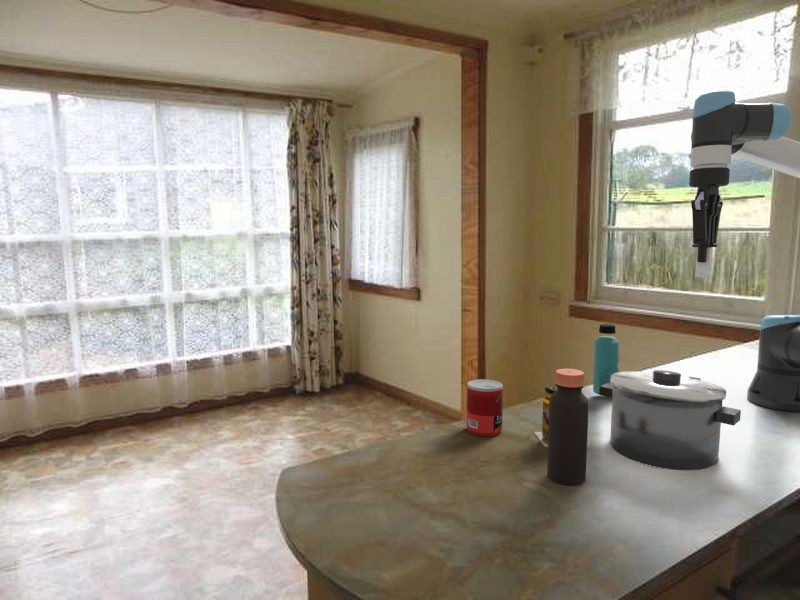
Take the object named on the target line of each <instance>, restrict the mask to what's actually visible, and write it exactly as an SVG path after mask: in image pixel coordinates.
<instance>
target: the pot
mask: <svg viewBox="0 0 800 600" xmlns="http://www.w3.org/2000/svg"><path fill="white" fill-rule="evenodd" d="M598 396H601V397H602V396H603V397H605V398H606V397H607V398H609V399H611V415H610V416H611V418H610V436H609V437H610V439H609V440H610V441H609V442H610V443H609V444H610V446H611V448H612V449H613V451H615V452H616V453H618V454H620V456H623V457H625V458H627V459H628V460H631V461H634V462H636V463H639V462H640V464H642V463H643V464H642V465H646V464H647V465H646V466H649V465H651V467H654V466H655V467H654V468H659V467H660V468H659V469H664V468H665V469H666V470H674V471H675V470H676V471H697V470H703V469H707V468H711V467H713V466H714V465H716V464H717V463H719V462H718V461H719V453H720V440H721V438H720V437H721V427H722V424H725V425H731V426H733V427H734V426H735V425H736V424H737V423H739V422H740V421H741V415H742V414H741V413H742V410H741V409H737V408H734V407H729V406H728V407H727V406H723V400H721V401H716V402H689V401H678V400H669V399H662V398H656V397H651V396H646V395H641V394H637V393H633V392H629V391H626V390H623V389H620V388H618V387H616V386H614V385H613V384H611V383H606V384H604V385H601V386H600V389H599V394H598Z"/></svg>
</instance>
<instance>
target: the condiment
mask: <svg viewBox="0 0 800 600" xmlns="http://www.w3.org/2000/svg"><path fill="white" fill-rule="evenodd" d="M555 384H556V383H555ZM555 384H548V385H546V386H545V389H544V391H545V392H544V396H545V397H543V399H542V400H543V401H542V419H541V420H542V423H541V427H542V429H541V431H533V433H534V434H535V436H536V437H537V439H538V440H539V441H540V443H541V444H542V445H543V446H544V447H545V448H548V428H549V399H550V396H551V395H552V394H553V393H554V392H555V391H556V390H557V387H556V386H555Z"/></svg>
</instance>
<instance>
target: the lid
mask: <svg viewBox="0 0 800 600" xmlns="http://www.w3.org/2000/svg"><path fill="white" fill-rule="evenodd" d="M611 384H613V385H614V386H616V387H618V388H620V389H623V390H626V391H629V392H633V393H637V394H641V395H646V396H651V397H656V398H662V399H669V400H678V401H689V402H716V401H721V400H722V401H724V400H726V398H727V390H726V388H724V387H723V386H722V385H721V386H720V385H718V384H716V383H712V382H710V381H705V380H701V378H700V377H699V378H698V377H694V376H688V375H684V374H683V375H682V374H681V373H679V372H675V371H670V370H663V369H659V370H655V369H654V370H653V372H650V371H618V373H614V374H612V375H611Z"/></svg>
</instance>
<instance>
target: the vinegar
mask: <svg viewBox="0 0 800 600" xmlns="http://www.w3.org/2000/svg"><path fill="white" fill-rule="evenodd" d="M554 372H555V376H554V378H555V379H554V383H555V386H556V387H557V390H556V391H555V392H554V393H553V394H552V395H551V396H550V399H549V428H548V447H547V466H546V467H547V468H546V469H547V471H546V472H547V473H546V474H547V477H548V479H549V480H551V482H553V483H555V484H558V485H562V486H568V487H574V486H575V487H577V486H580V485H582V484H584V483H585V482H586V480H587V461H588V460H587V458H588V457H587V454H588V433H589V432H588V430H589V403H590V402H589V399H588V398H587V396H585V394H584V392H582V391H583V389H584V382H585V372H584V371H583V370H579V369H574V368H558V369H556V370H555V371H554Z"/></svg>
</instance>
